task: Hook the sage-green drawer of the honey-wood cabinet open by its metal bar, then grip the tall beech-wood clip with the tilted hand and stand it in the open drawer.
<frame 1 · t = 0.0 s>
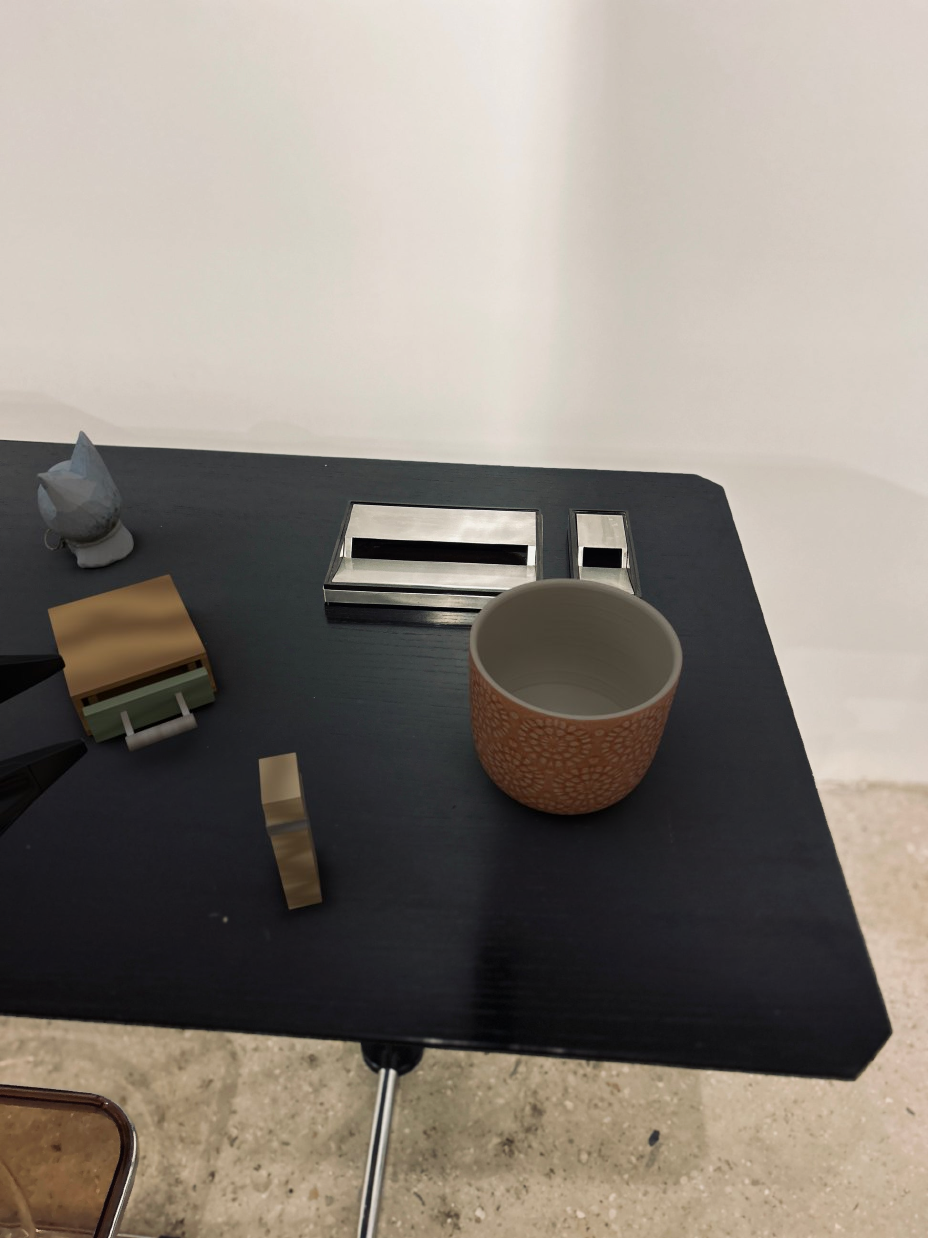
hand: (74, 700, 54), 18 cm above the table, tool horizontal, fingers open, 9 cm apart
clip: (303, 883, 63), on the table
cabinet: (138, 668, 81), on the table
drawer: (142, 679, 76), point 3 cm above the table, slide at 1.0 cm
planter: (558, 765, 72), on the table
figurine: (96, 554, 97), on the table
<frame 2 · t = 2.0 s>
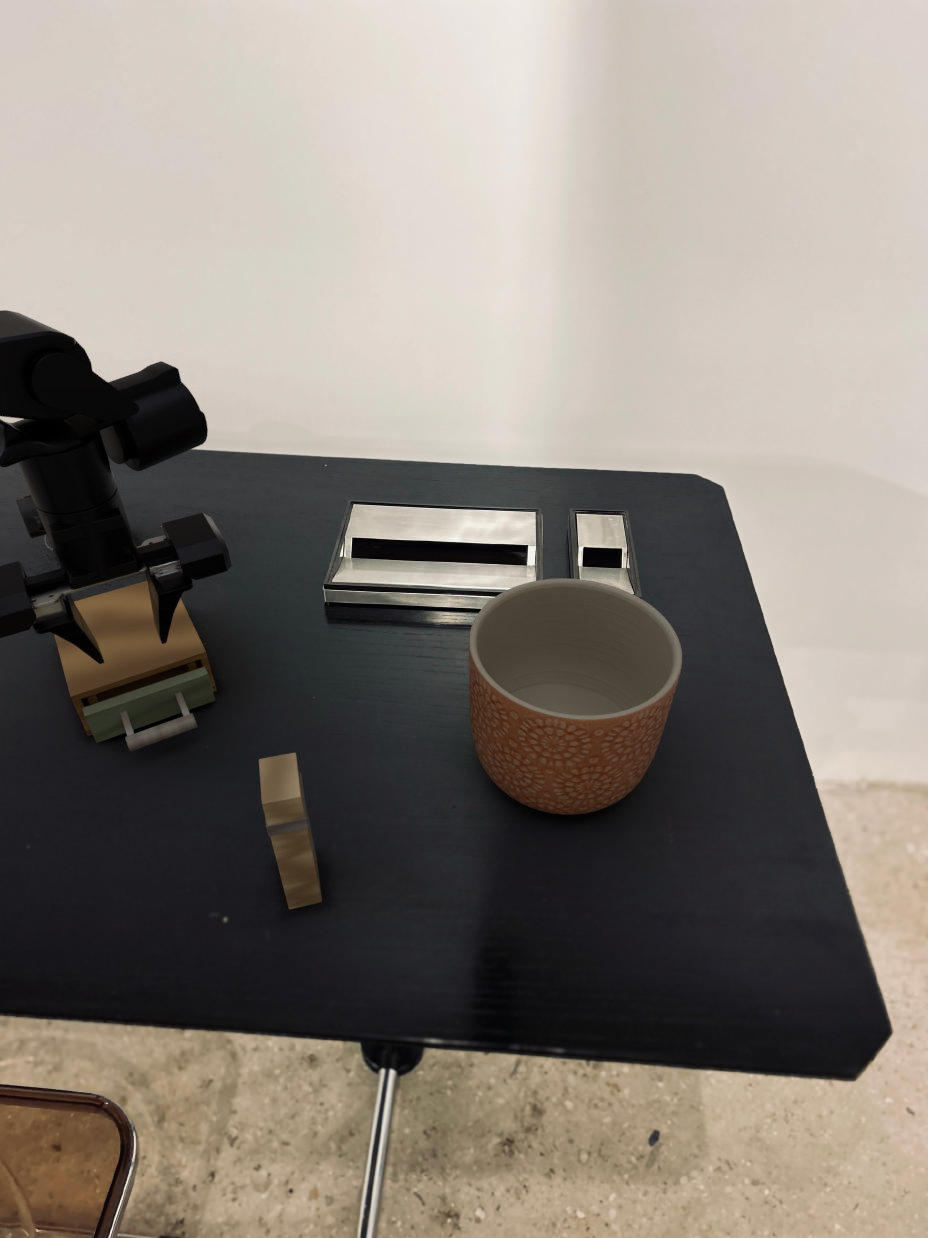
hand: (132, 650, 67), 11 cm above the table, tool pointing down, fingers open, 5 cm apart
nothing on the table moved.
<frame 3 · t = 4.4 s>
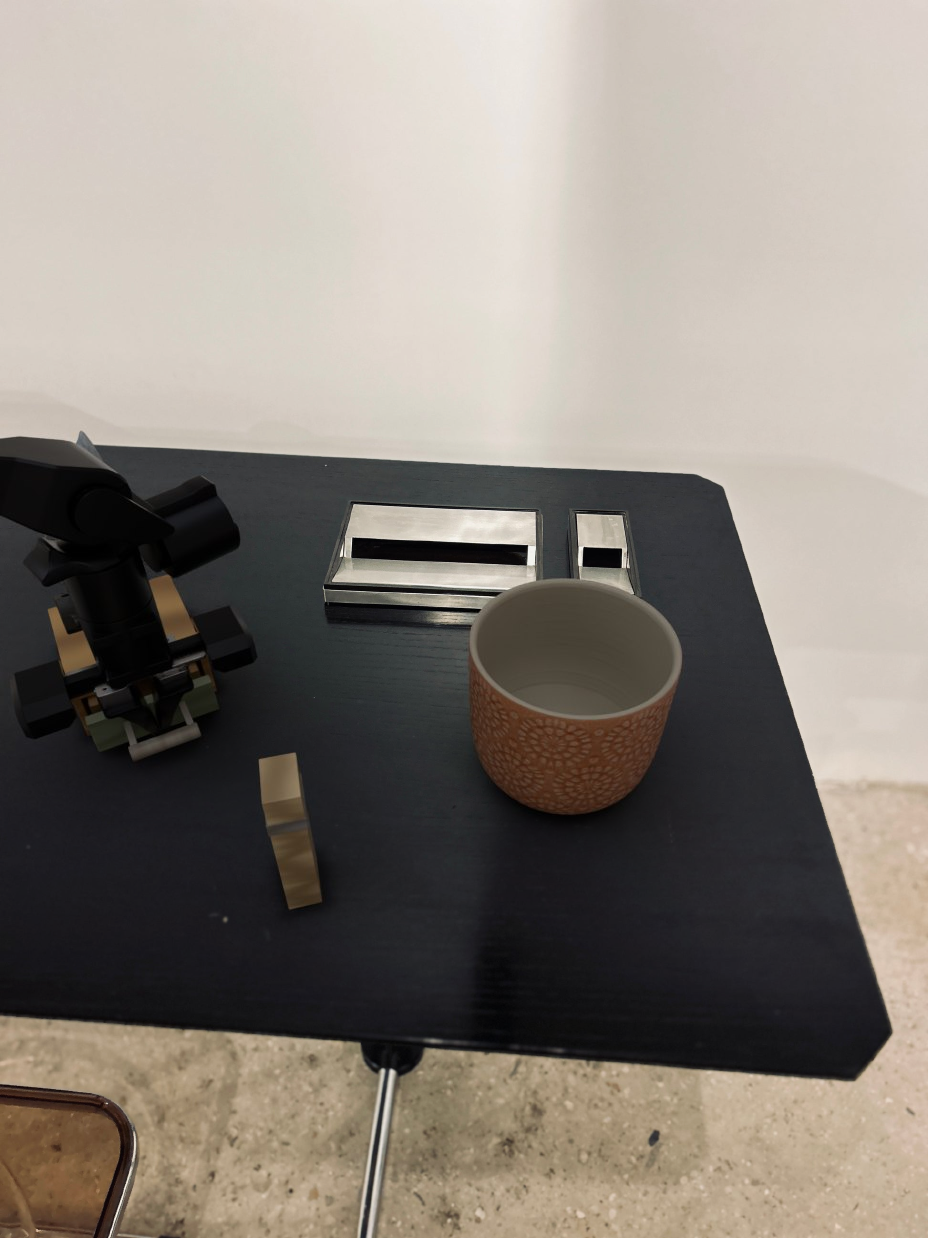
hand: (162, 734, 71), 3 cm above the table, tool pointing down, fingers closed, pressing on drawer
drawer: (145, 687, 76), point 3 cm above the table, slide at 2.3 cm, touching gripper
everything else where it was.
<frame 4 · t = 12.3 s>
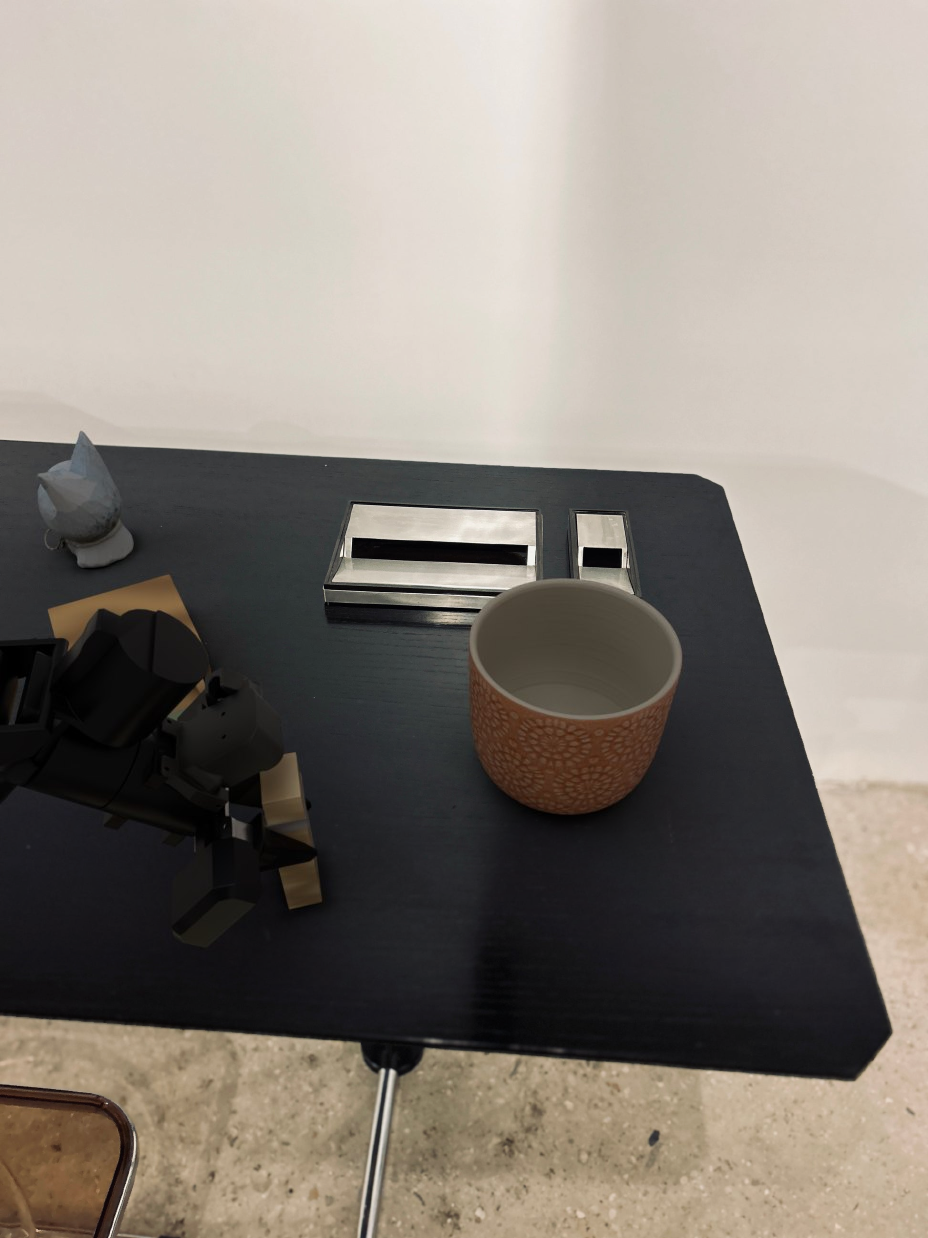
hand: (311, 832, 59), 7 cm above the table, tool tilted 45°, fingers closed on clip, 4 cm apart
clip: (303, 883, 63), on the table, touching gripper
drawer: (153, 709, 73), point 3 cm above the table, slide at 5.6 cm
everything else where it was.
when the fingers open (8 cm above the table, at t = 19.9 s): clip stays where it is, resting on drawer.
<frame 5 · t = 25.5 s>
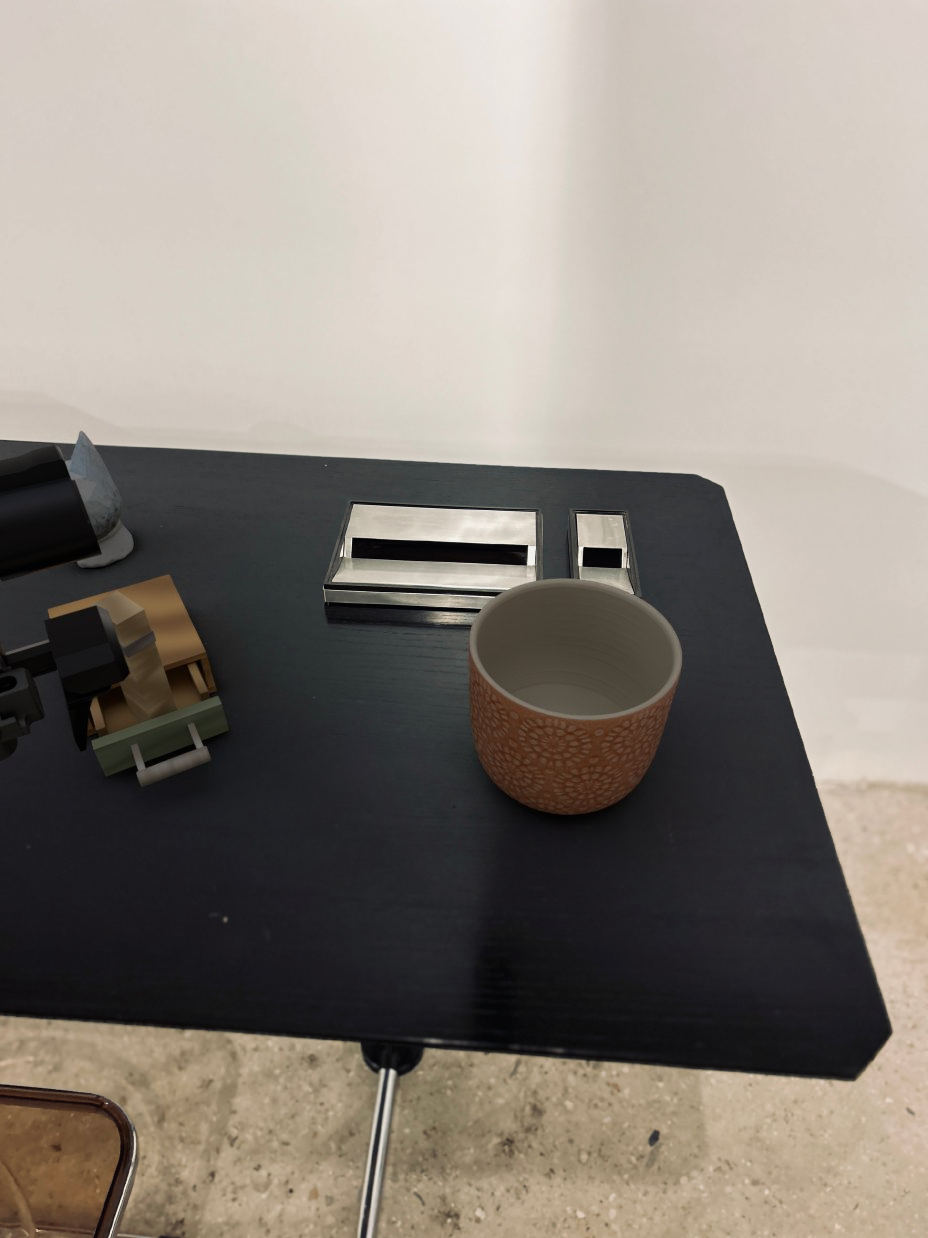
hand: (13, 772, 55), 13 cm above the table, tool pointing down, fingers open, 9 cm apart
clip: (156, 717, 74), point 2 cm above the table, touching drawer
drawer: (153, 709, 73), point 3 cm above the table, slide at 5.5 cm, touching clip
everything else where it was.
at the end: drawer slide at 5.5 cm; clip inside the target area in the cabinet (5.4 cm from its centre), point 1.9 cm above the cabinet's base; the gripper is holding nothing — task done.
